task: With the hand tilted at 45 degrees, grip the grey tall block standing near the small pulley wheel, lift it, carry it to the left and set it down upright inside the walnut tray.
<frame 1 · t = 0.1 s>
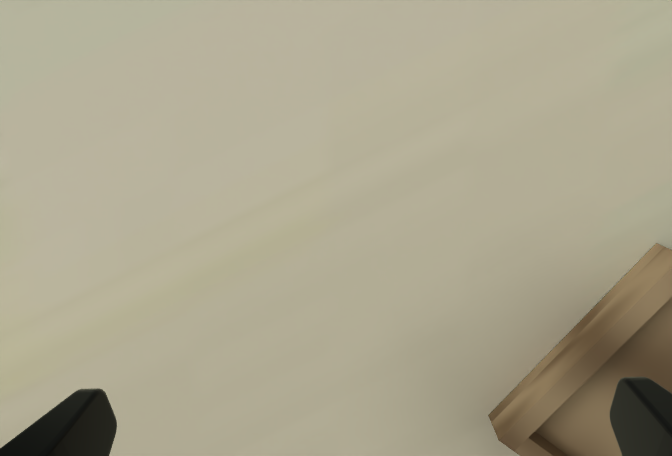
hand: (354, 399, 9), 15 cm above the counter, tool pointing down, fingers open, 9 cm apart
tray: (654, 399, 25), on the counter
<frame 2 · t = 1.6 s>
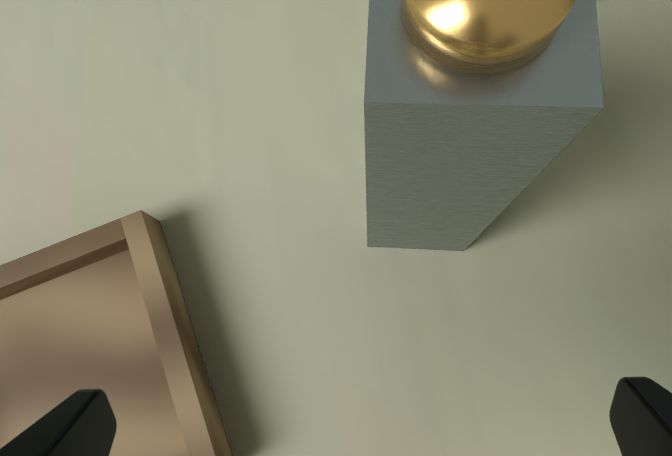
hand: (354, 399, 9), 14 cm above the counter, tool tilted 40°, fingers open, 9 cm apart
grey tall block: (416, 202, 23), on the counter
tray: (73, 385, 22), on the counter
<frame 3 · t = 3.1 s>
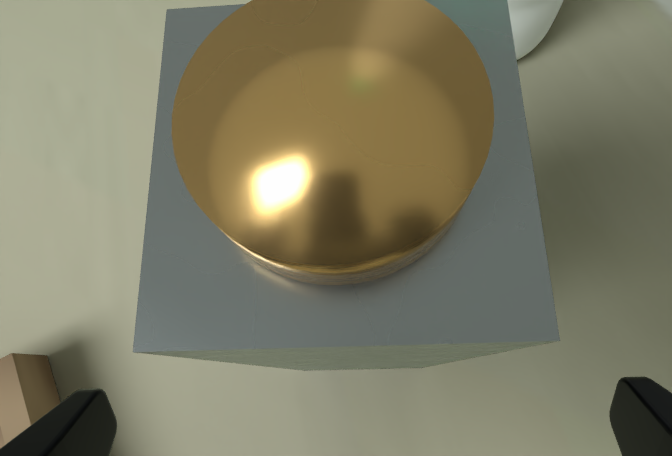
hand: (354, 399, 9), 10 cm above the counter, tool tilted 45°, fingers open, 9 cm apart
water bottle: (471, 15, 23), on the counter
grey tall block: (360, 309, 19), on the counter
when the fingers open (9 cm above the counter, at t = 8.2 s): grey tall block drops 1 cm, resting on tray.
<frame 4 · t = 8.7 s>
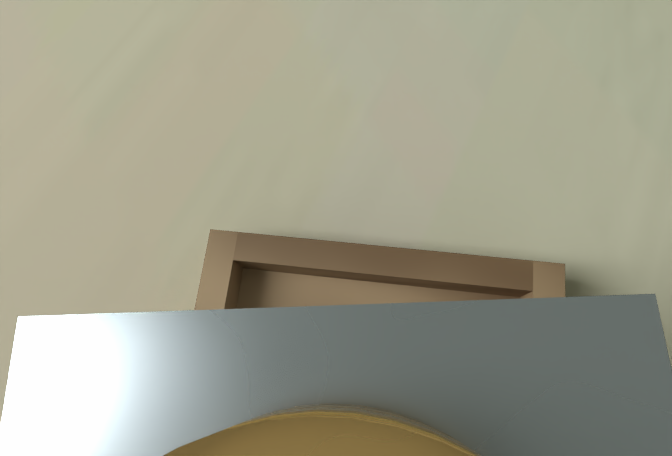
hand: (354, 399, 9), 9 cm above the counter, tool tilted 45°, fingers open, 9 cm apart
grey tall block: (363, 428, 16), point 1 cm above the counter, touching tray
tray: (363, 428, 17), on the counter
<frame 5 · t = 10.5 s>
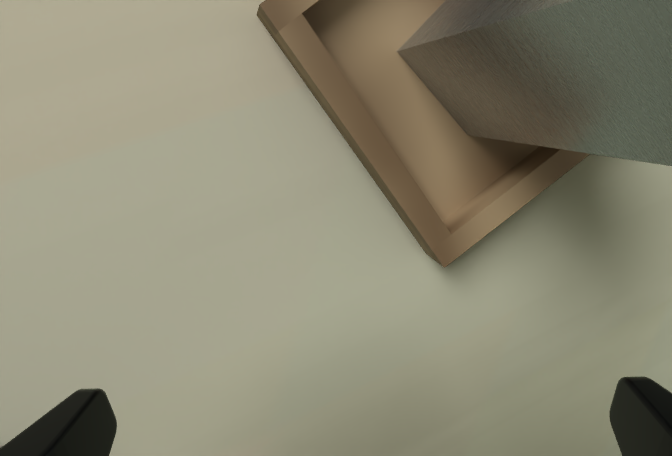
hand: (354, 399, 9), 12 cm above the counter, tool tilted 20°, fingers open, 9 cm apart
grey tall block: (473, 53, 19), point 1 cm above the counter, touching tray
tray: (465, 55, 20), on the counter
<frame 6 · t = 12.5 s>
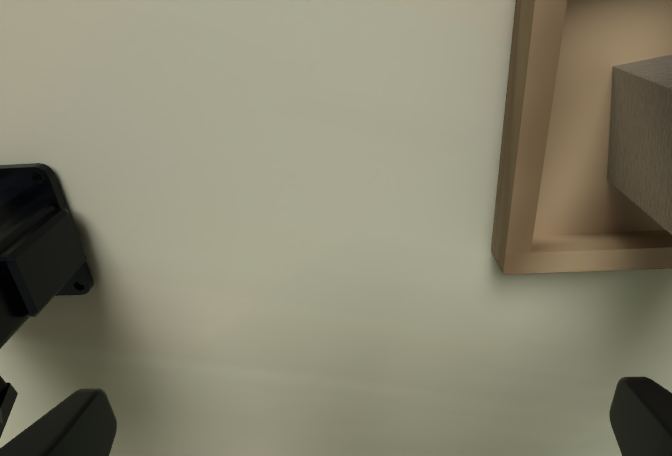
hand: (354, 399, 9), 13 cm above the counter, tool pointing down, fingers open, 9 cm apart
tray: (662, 110, 19), on the counter
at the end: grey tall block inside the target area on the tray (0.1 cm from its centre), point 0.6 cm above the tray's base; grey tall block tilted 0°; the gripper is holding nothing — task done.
